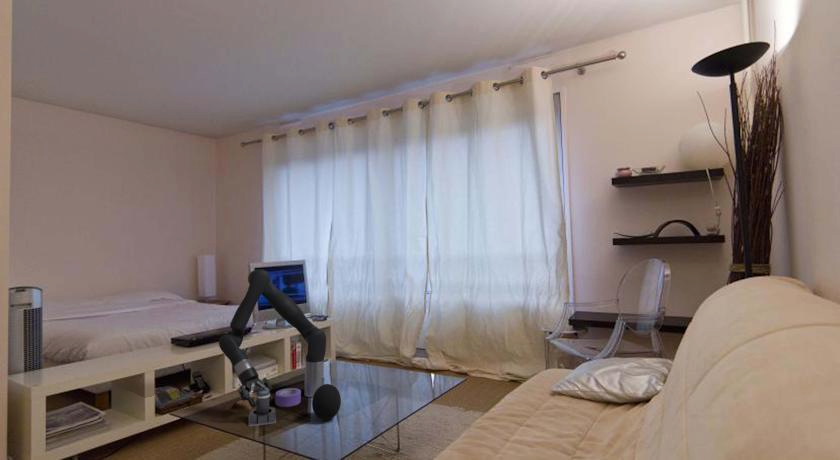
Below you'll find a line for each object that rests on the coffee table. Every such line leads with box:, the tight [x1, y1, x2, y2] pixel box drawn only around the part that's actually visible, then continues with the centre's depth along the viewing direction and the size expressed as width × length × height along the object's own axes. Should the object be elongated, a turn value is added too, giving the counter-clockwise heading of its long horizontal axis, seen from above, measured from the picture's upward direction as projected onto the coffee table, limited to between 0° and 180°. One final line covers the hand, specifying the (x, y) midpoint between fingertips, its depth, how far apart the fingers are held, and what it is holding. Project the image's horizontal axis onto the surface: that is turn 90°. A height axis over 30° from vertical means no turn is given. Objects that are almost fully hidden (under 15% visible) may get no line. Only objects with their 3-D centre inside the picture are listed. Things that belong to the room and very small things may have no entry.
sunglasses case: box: [233, 392, 257, 410], centre depth 196 cm, size 18×7×7 cm, turn 3°
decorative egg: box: [311, 383, 342, 421], centre depth 179 cm, size 12×12×15 cm
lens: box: [255, 390, 271, 415], centre depth 177 cm, size 5×5×11 cm
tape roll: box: [274, 387, 302, 408], centre depth 198 cm, size 12×12×5 cm
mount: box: [248, 406, 277, 427], centre depth 177 cm, size 11×11×4 cm
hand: (262, 403), depth 177 cm, fingers open, 8 cm apart
